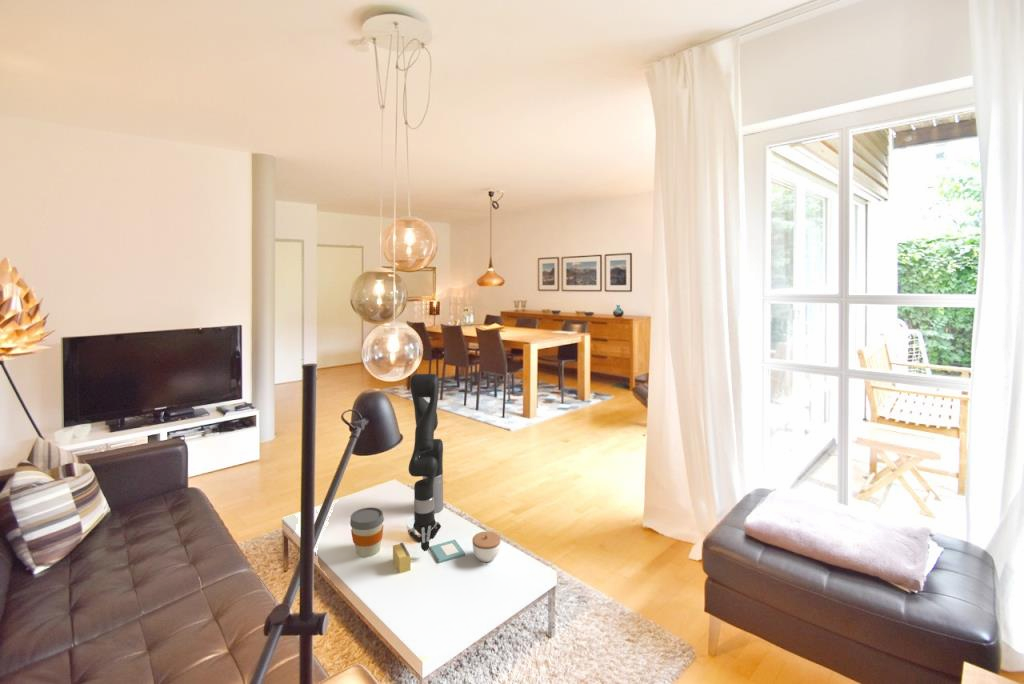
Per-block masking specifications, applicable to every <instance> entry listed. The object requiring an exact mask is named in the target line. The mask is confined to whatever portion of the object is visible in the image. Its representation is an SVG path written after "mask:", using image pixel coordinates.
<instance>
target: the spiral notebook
mask: <svg viewBox="0 0 1024 684" xmlns="http://www.w3.org/2000/svg"><path fill="white" fill-rule="evenodd" d="M428 550H429V551H430V553H431V554H432V556H433V557H434V558H435V560H436V561H437V563H438V564H441V563H444V561H445V562H448V561H452V560H454V558H455V559H458V558H461V556H462V557H465V556H466V554H467V553H466V552H465V550H464V549H463V548H462V546H460V544H459V542H458V541H457V540H456V539H452V540H449V541H444V542H441V543H438V544H434V545H431V546H430V545H429V549H428Z"/></svg>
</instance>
